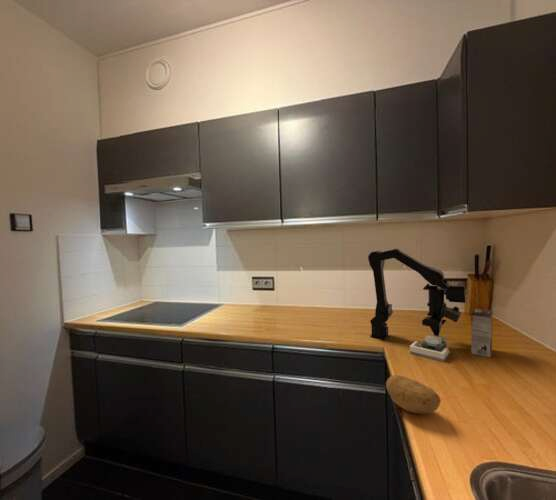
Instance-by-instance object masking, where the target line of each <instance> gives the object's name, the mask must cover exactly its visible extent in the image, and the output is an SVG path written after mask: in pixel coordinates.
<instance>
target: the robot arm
mask: <svg viewBox="0 0 556 500" xmlns="http://www.w3.org/2000/svg"><path fill="white" fill-rule="evenodd" d="M367 259H368V264H369V266H370V268H371V269H372V270H371V271H372V273H373V281H374V288H375V289H374V290H375V296H376V304H375V305H376V306H375V310H374V311H375V313H374V317H373V318H372V319H370V321H369V322H370V324H371V334H370V335H369V338H374V339H378V340H385V339H387V338H388V337H389V327H388V323H387V322H388V321H389V320H390V318H391V317H392V314H393V313H394V311H393V303H390V304H389V301H388V298H387V291H386V284H385V283H386V281H385V274H384V268H385V261H386V260H391V259H395V260H397V261H398V262H400V263H402V264H404V266H406V267H408V268H410V269H411V270H413V271H414V272H417V273H418V274H419V275H420V276H421V277H422V278H423V279H424V280H425V281H426V282H428V283H427V284H426V285H425V286H424V287H423V288H422V289H423V290H424V291H428V302H427V303H426V305H427V306H428V312H427V316H425V317H424V318H423V319H422V320H421V322H422V323H421V324H422V326H426V327H429V328H430V329H431V331H432V335H435V336H440V334H441V329H442V326H444V324H445V323H446V322H447V319H448V320H450V321H452V322H454V323H457V322H458V321H459V319H460V317H461V315H462V312H461V311H460V307H458V306H453V307H448V306H447V302H445V299H446V301H448V302H449V303H462V304H466V300H467V295H466V294H467V292H466V286H465V285H463V284H461V285H451V284H450V283H449V281H448V280H447V279H446V278H445V273H444V272H443V271H442V270H440V269H437V268H435V267H431V266H428V265H426V264H424V263H422V262H420V261H419V260H417V259H416V258H414V257H411V256H410V255H408V254H407V253H405V252H403V251H402V250H400V249H399V248H393V249H390V250H385V251H381V250H375V251H371V252H370V253H369V254H368V257H367ZM444 318H446V319H444Z"/></svg>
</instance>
